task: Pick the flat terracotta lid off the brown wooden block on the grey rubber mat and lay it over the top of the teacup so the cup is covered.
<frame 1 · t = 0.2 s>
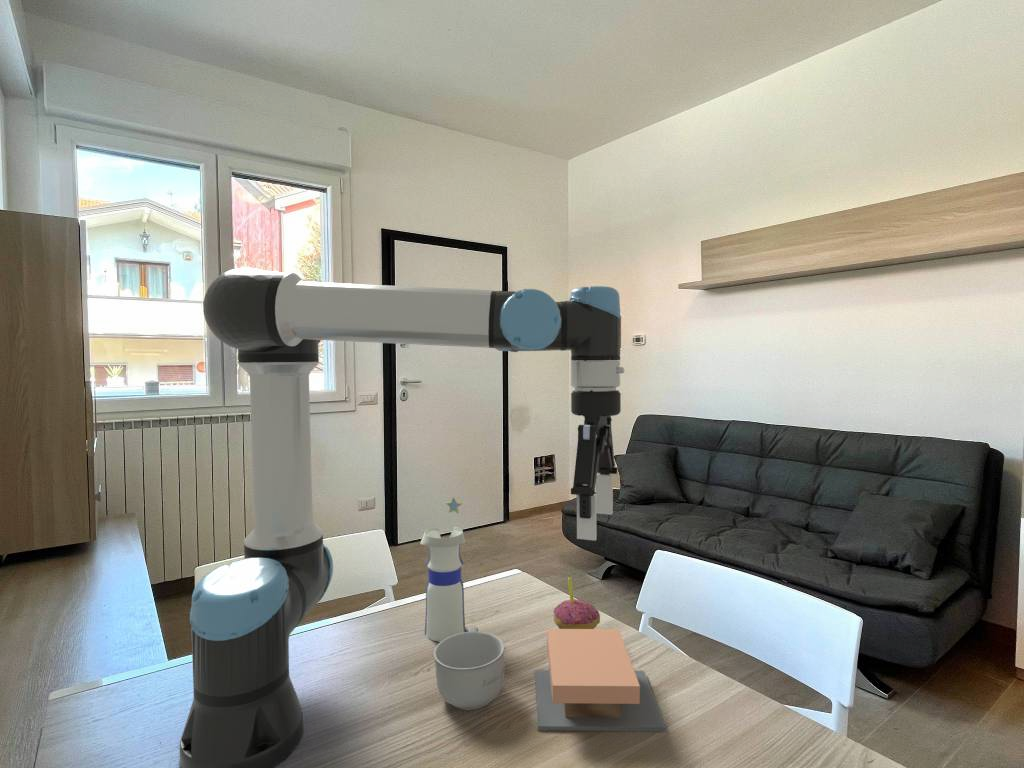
hand: (596, 525, 86), 26 cm above the table, tool pointing down, fingers open, 13 cm apart
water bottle: (443, 632, 106), on the table
brown wooden block: (588, 700, 85), resting on mat
mat: (595, 700, 85), on the table
cupcake: (576, 641, 103), on the table
teacup: (472, 692, 87), on the table
lid: (588, 670, 85), point 5 cm above the table, touching brown wooden block
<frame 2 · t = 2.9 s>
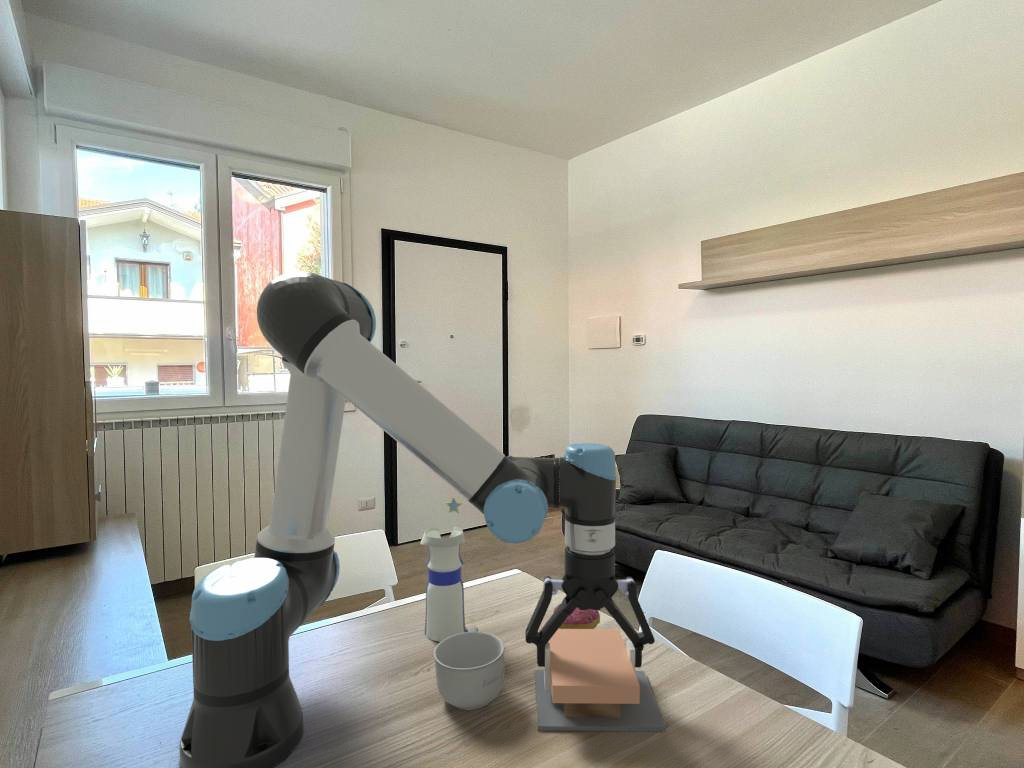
hand: (588, 686, 85), 2 cm above the table, tool pointing down, fingers closed on lid, 12 cm apart
lid: (588, 670, 85), point 5 cm above the table, touching gripper, brown wooden block
everything else where it was.
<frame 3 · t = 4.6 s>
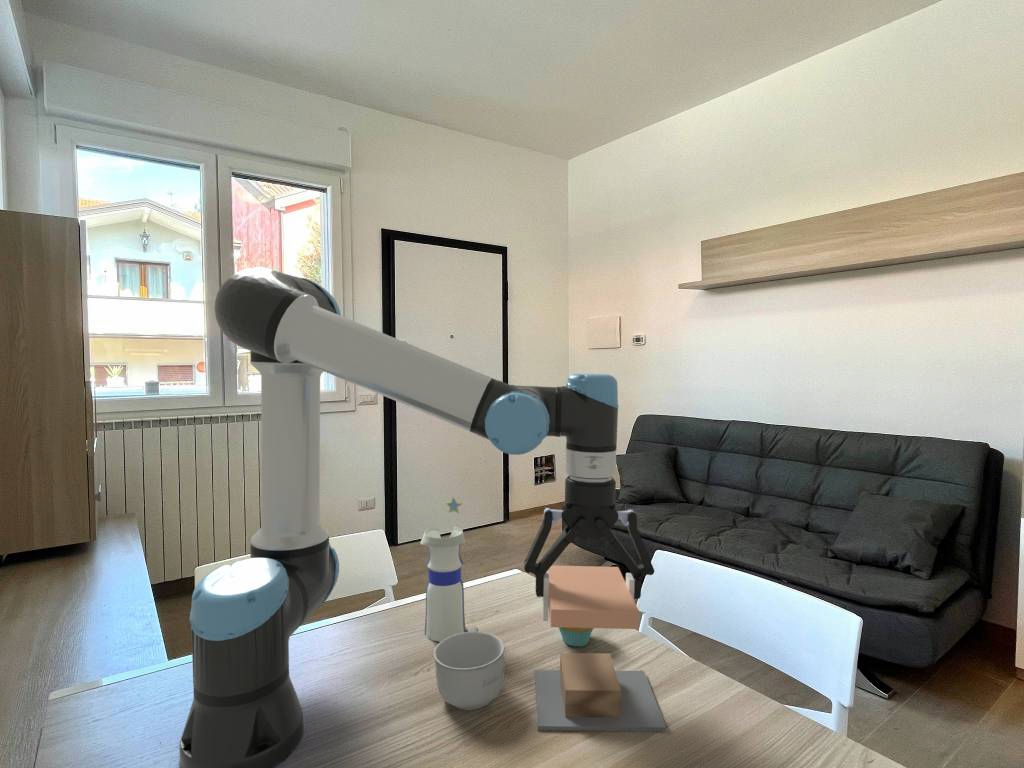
hand: (587, 617, 84), 13 cm above the table, tool pointing down, fingers closed on lid, 12 cm apart
lid: (587, 602, 84), point 15 cm above the table, touching gripper
everything else where it was.
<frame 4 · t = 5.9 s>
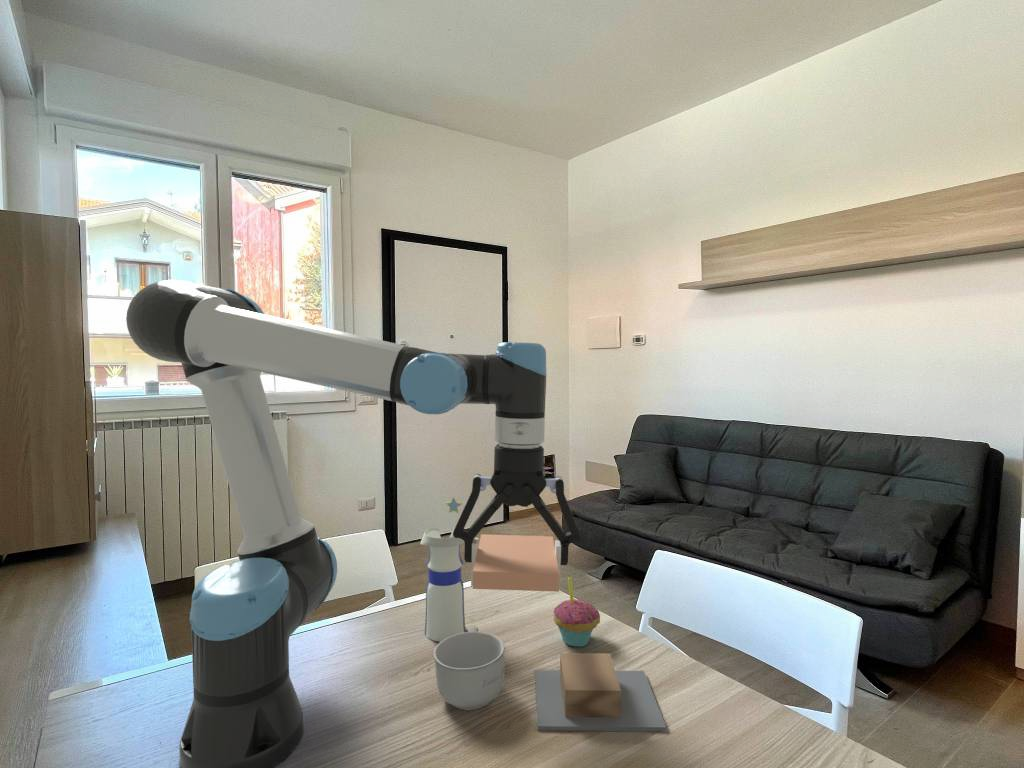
hand: (515, 583, 85), 18 cm above the table, tool pointing down, fingers closed on lid, 12 cm apart
lid: (516, 568, 85), point 20 cm above the table, touching gripper
everything else where it was.
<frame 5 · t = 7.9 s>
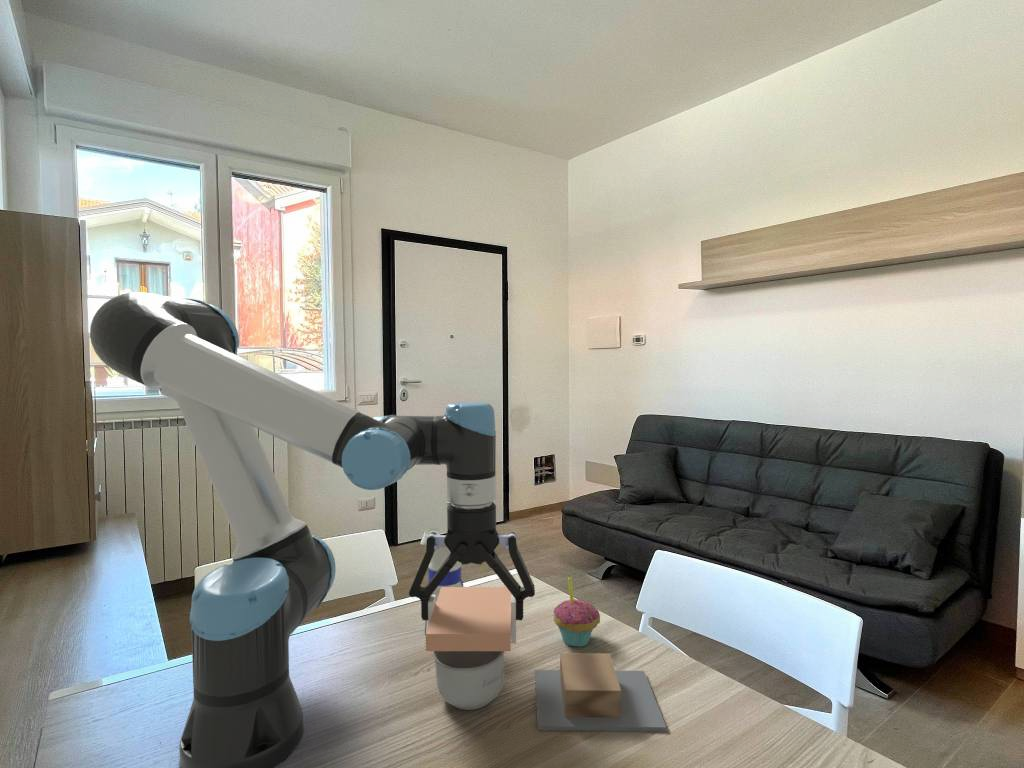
hand: (472, 639, 87), 8 cm above the table, tool pointing down, fingers closed on lid, 12 cm apart
lid: (472, 623, 87), point 11 cm above the table, touching gripper
everything else where it was.
when the fingers open (7 cm above the table, at t = 9.2 s): lid drops 2 cm, resting on teacup.
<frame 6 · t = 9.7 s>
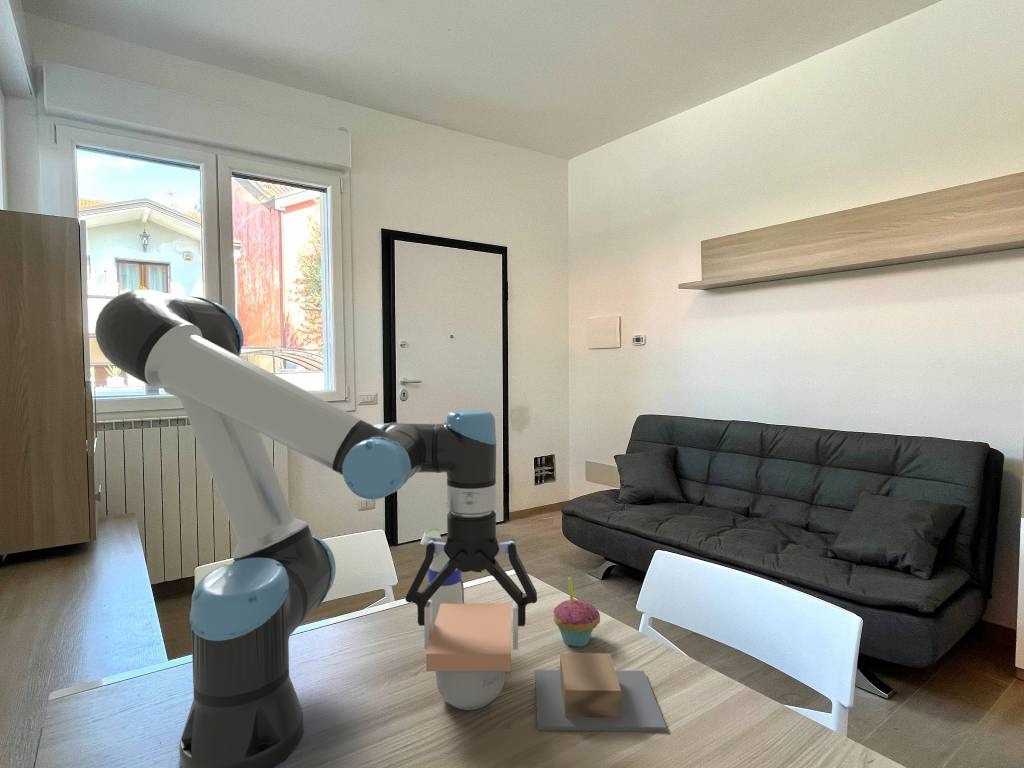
hand: (471, 645, 87), 7 cm above the table, tool pointing down, fingers open, 13 cm apart
teacup: (472, 693, 87), on the table, touching lid
lid: (472, 641, 87), point 8 cm above the table, touching teacup
everything else where it was.
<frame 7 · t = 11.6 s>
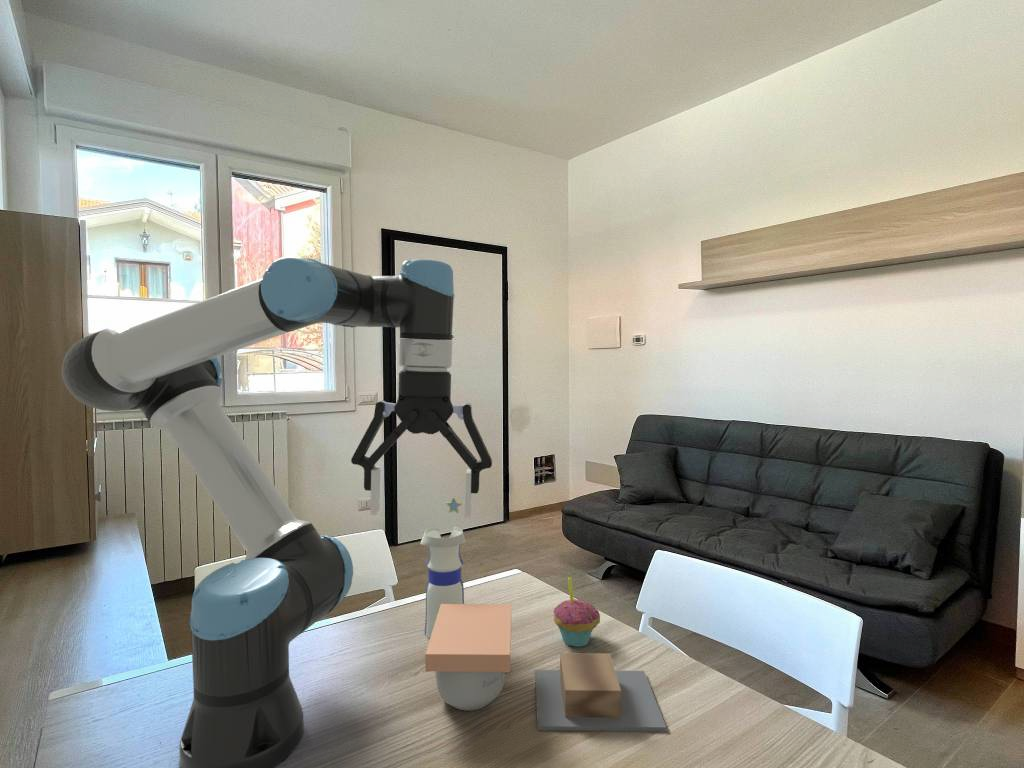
hand: (421, 513, 82), 29 cm above the table, tool pointing down, fingers open, 13 cm apart
nothing on the table moved.
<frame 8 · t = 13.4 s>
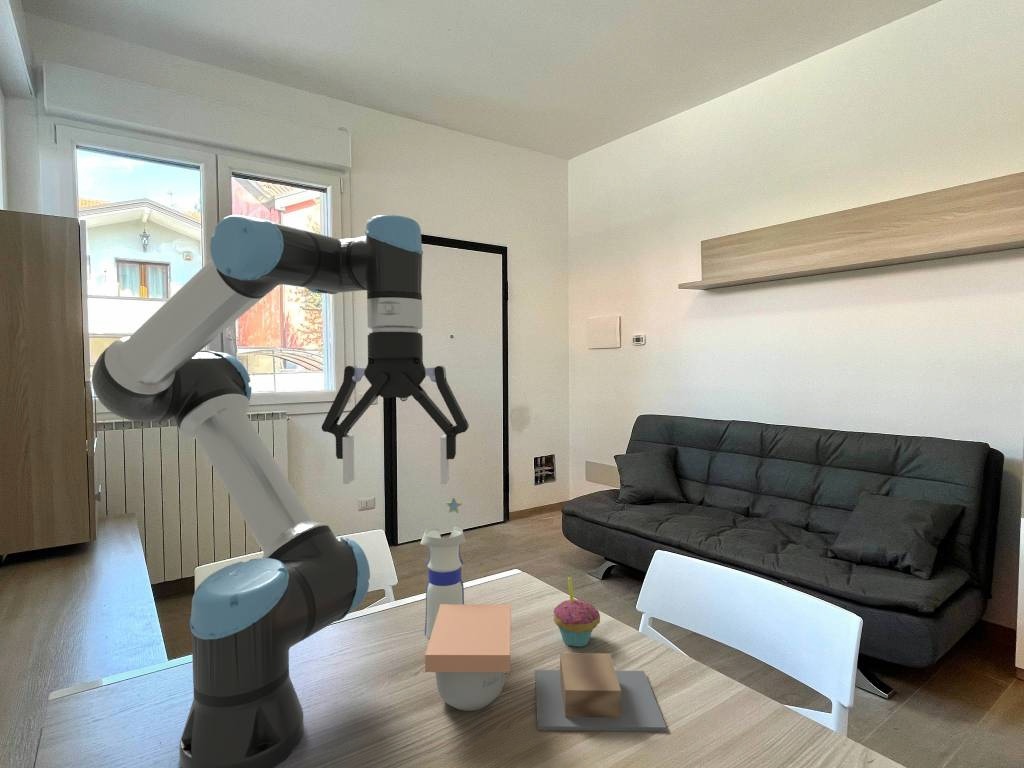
hand: (396, 482, 79), 35 cm above the table, tool pointing down, fingers open, 13 cm apart
nothing on the table moved.
at the end: lid 0.1 cm off-centre on the teacup, point 8.2 cm above the teacup's base; lid touching teacup; the gripper is holding nothing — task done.
